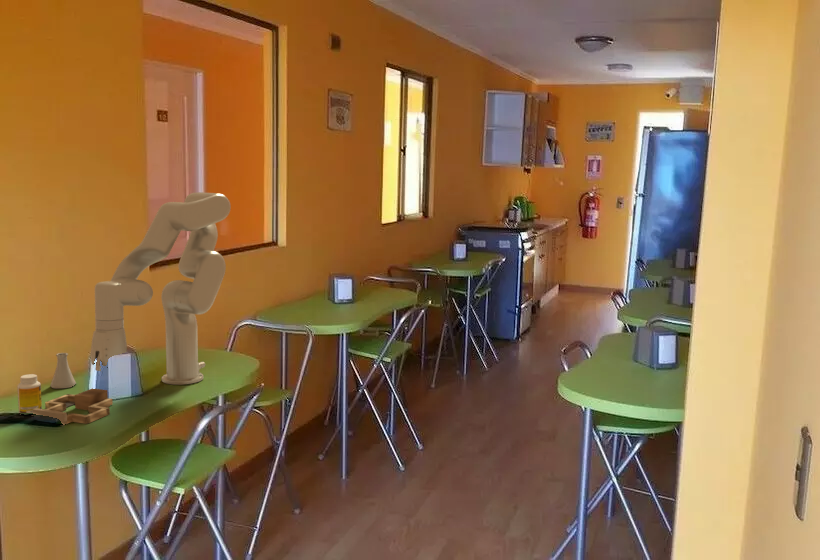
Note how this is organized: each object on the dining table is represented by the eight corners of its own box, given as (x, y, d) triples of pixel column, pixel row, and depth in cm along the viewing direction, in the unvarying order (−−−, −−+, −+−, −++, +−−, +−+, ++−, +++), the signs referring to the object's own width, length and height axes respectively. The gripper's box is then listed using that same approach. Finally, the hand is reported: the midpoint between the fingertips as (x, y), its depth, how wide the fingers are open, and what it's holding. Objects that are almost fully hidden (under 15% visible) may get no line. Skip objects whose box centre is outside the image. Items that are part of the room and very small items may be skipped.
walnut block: (93, 401, 210) (92, 388, 209) (107, 403, 208) (107, 390, 208) (75, 409, 203) (74, 395, 203) (90, 411, 202) (89, 397, 201)
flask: (49, 390, 219) (47, 357, 218) (51, 383, 226) (49, 352, 225) (75, 388, 222) (74, 355, 221) (77, 381, 229) (75, 350, 227)
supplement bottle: (44, 413, 198) (42, 376, 197) (21, 417, 195) (19, 380, 193) (39, 408, 202) (37, 372, 201) (16, 412, 199) (14, 375, 197)
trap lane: (70, 399, 211) (69, 389, 210) (126, 407, 205) (126, 396, 205) (18, 418, 194) (18, 407, 193) (78, 427, 188) (78, 416, 187)
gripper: (116, 319, 219) (117, 380, 221) (79, 328, 205) (81, 392, 207) (137, 321, 216) (138, 382, 219) (101, 330, 202) (103, 395, 205)
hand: (110, 387), depth 213 cm, fingers closed
